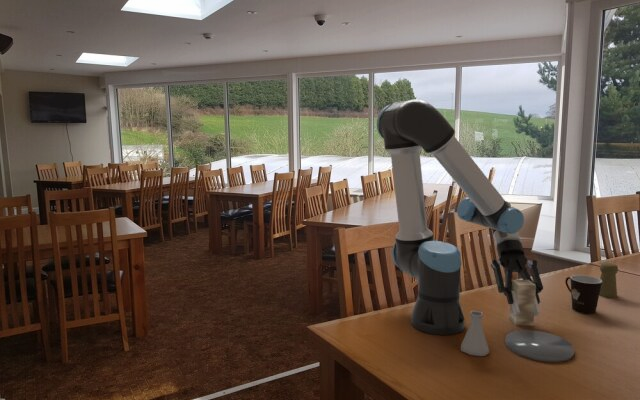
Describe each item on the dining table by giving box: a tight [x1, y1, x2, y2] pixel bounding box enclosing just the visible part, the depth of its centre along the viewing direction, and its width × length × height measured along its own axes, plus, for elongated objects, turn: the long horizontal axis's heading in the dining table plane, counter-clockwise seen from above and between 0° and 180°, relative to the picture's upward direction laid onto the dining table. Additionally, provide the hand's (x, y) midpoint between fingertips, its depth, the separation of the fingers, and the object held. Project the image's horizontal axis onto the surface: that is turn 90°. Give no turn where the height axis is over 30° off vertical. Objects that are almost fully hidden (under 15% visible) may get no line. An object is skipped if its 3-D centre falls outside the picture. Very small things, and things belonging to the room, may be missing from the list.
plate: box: [504, 329, 575, 363], centre depth 120 cm, size 16×16×1 cm
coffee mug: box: [565, 274, 602, 315], centre depth 146 cm, size 12×9×10 cm
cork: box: [599, 262, 619, 299], centre depth 158 cm, size 6×6×11 cm
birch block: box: [509, 279, 536, 326], centre depth 135 cm, size 5×5×12 cm
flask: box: [460, 310, 490, 357], centre depth 118 cm, size 7×7×10 cm
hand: (527, 314), depth 132 cm, fingers closed on birch block, 5 cm apart
